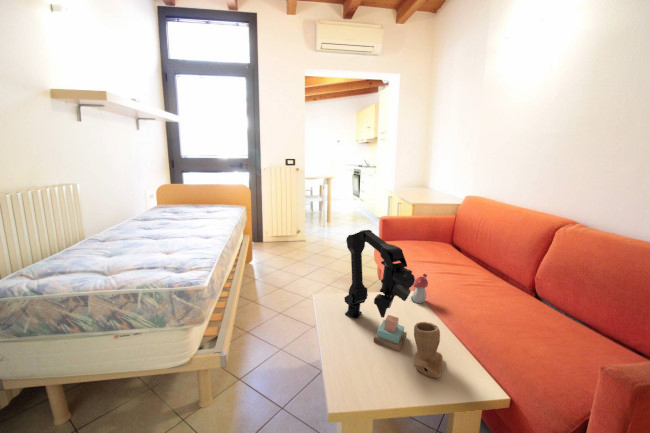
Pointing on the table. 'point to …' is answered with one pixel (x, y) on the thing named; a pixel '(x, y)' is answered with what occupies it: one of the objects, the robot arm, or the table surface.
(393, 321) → the terracotta cube
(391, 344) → the tower base
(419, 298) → the decorative ornament
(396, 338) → the tower top
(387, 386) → the table surface
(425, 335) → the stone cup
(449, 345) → the table surface
